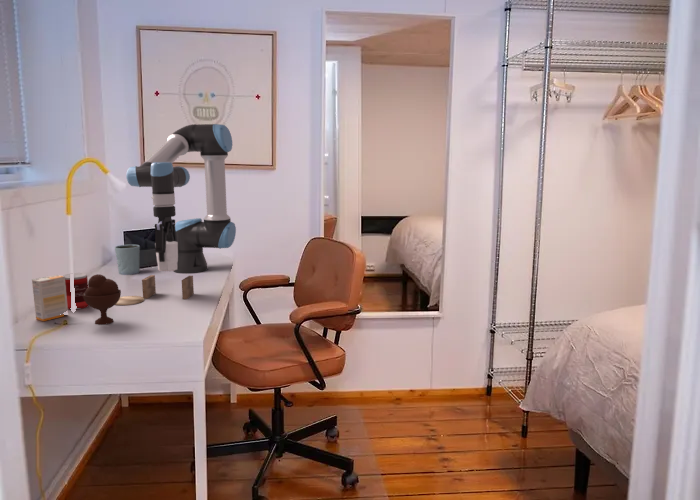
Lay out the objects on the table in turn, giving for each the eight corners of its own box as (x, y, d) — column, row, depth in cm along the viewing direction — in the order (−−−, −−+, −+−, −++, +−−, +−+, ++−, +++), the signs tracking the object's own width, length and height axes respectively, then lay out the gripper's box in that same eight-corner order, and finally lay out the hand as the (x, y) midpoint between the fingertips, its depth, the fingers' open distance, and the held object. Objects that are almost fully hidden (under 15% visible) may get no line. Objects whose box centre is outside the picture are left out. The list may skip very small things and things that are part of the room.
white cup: (172, 272, 197) (170, 244, 195) (152, 271, 199) (150, 244, 197) (183, 267, 205) (181, 241, 203) (163, 266, 206) (162, 240, 205)
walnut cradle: (151, 293, 207) (150, 275, 206) (193, 293, 207) (192, 275, 205) (143, 298, 199) (141, 279, 198) (186, 299, 199) (185, 280, 198)
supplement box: (61, 313, 180) (57, 274, 178) (68, 315, 178) (65, 276, 175) (34, 319, 174) (31, 278, 171) (42, 321, 171) (38, 280, 169)
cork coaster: (119, 297, 201) (119, 295, 201) (148, 297, 201) (148, 296, 201) (104, 305, 190) (104, 303, 190) (135, 305, 190) (135, 303, 190)
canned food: (71, 303, 192) (68, 272, 190) (93, 304, 192) (91, 273, 190) (59, 309, 185) (56, 277, 183) (82, 309, 184) (80, 277, 183)
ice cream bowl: (84, 329, 164) (80, 280, 161) (86, 319, 174) (82, 272, 171) (123, 325, 168) (119, 277, 165) (122, 315, 178) (119, 270, 175)
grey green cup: (144, 270, 249) (142, 244, 247) (136, 275, 239) (134, 248, 237) (121, 270, 249) (119, 244, 247) (112, 275, 239) (111, 248, 237)
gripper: (164, 202, 208) (168, 262, 212) (142, 208, 188) (146, 273, 192) (184, 202, 207) (187, 262, 211) (163, 208, 187) (167, 274, 191)
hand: (167, 267), depth 202 cm, fingers closed on white cup, 7 cm apart
